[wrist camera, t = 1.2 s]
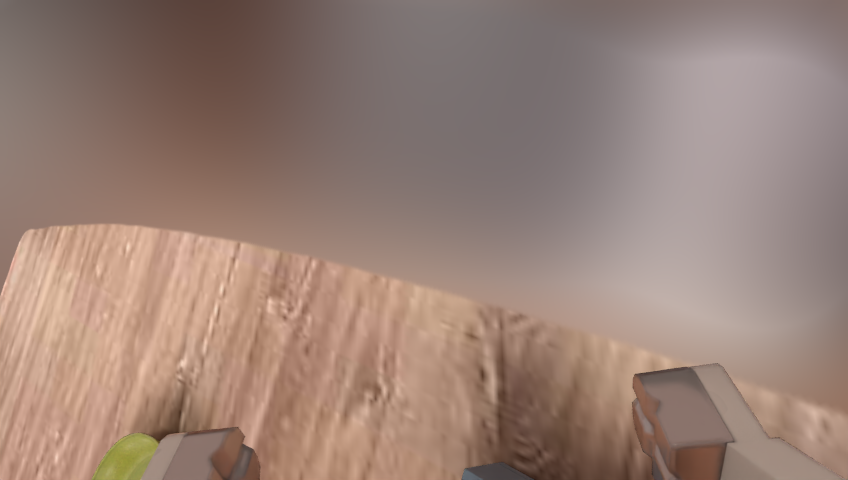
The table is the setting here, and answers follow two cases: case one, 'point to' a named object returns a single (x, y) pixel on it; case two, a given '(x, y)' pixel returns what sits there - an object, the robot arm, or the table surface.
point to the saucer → (127, 458)
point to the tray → (493, 473)
